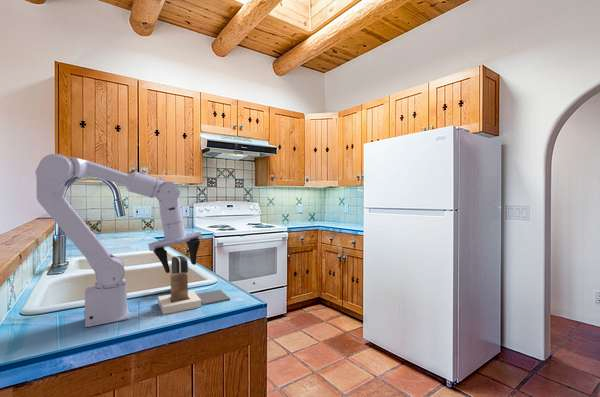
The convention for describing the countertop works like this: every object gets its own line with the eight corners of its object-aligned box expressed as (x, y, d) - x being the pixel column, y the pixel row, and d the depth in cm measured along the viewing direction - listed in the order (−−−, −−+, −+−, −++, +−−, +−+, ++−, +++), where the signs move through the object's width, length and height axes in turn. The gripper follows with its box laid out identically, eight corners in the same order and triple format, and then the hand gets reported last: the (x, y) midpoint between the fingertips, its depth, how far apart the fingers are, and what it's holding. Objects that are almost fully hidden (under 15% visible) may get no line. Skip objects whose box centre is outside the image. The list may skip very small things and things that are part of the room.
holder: (163, 314, 83) (162, 307, 83) (158, 303, 92) (158, 296, 92) (201, 306, 88) (201, 300, 88) (193, 296, 97) (193, 290, 97)
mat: (203, 305, 90) (203, 303, 90) (195, 295, 98) (195, 294, 98) (230, 299, 94) (230, 298, 94) (220, 291, 102) (220, 289, 102)
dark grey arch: (189, 291, 103) (188, 257, 102) (177, 293, 100) (177, 258, 100) (182, 286, 108) (182, 254, 108) (171, 288, 106) (171, 255, 106)
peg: (173, 308, 87) (172, 277, 87) (170, 304, 91) (170, 274, 90) (187, 305, 89) (187, 275, 89) (185, 301, 93) (184, 272, 93)
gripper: (149, 229, 81) (159, 278, 82) (202, 218, 90) (209, 262, 92) (143, 227, 87) (152, 274, 88) (193, 217, 96) (200, 259, 97)
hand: (181, 268), depth 90 cm, fingers open, 7 cm apart
